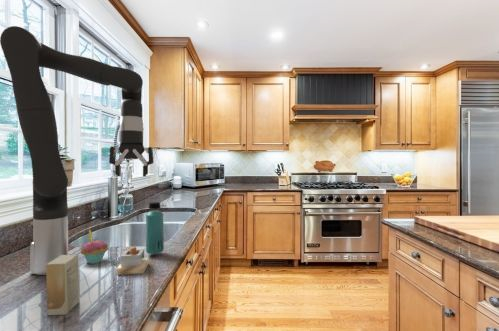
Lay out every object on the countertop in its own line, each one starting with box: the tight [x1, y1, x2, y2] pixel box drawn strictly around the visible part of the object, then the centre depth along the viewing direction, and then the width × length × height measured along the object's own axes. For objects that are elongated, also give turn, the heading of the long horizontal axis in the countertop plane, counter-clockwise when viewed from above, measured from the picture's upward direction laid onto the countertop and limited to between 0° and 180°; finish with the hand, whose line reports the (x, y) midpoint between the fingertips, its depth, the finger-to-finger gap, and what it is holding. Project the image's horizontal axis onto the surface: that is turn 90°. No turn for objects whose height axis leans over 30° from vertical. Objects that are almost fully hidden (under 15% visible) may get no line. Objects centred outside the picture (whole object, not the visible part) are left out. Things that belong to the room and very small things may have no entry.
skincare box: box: [46, 254, 80, 316], centre depth 68 cm, size 6×4×12 cm
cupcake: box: [80, 228, 109, 265], centre depth 100 cm, size 9×8×12 cm
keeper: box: [116, 246, 149, 276], centre depth 92 cm, size 8×8×7 cm
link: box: [120, 248, 145, 267], centre depth 92 cm, size 6×6×4 cm
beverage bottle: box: [145, 201, 165, 255], centre depth 106 cm, size 6×7×20 cm
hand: (131, 176), depth 99 cm, fingers open, 8 cm apart
